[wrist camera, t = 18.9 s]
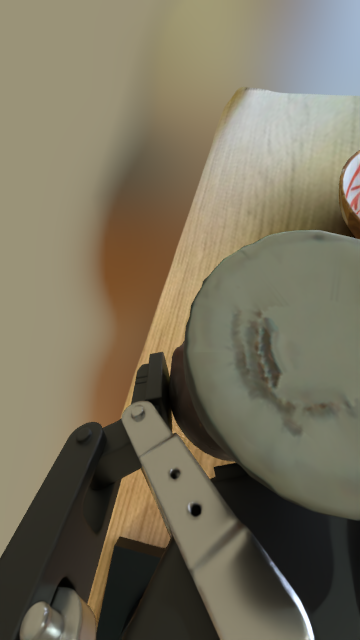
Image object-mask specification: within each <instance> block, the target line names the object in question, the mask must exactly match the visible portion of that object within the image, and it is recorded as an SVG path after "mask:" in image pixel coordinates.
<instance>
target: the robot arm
mask: <svg viewBox="0 0 360 640" xmlns="http://www.w3.org/2000/svg"><path fill="white" fill-rule="evenodd" d="M169 381H170V377H169V372H168V368H167V364H166V360H165V356H164V353H163V352H159V353H154V354H150V358H149V364H144V365H142V366H141V367H140V368H139V370H138V371H137V376H136V381H135V387H134V392H133V397H132V402H131V405H130V406H128V407H127V408H126V409H125V411H124V412H123V414H122V418H121V419H120V420H119V421H117V422H115V423H113V424H110V425H108V426H106V427H104V428H102V426H101V425H100V424H99V423H97V422H90V423H86V424H84V425H82V426H80V427H79V428H77V429H76V430H75V431H74V432H73V433H72V434H71V435H70V436H69V438H68V440H67V441H66V443H65V445H64V447H63V449H62V450H61V452H60V454H59V456H58V457H57V459H56V461H55V463H54V464H53V466H52V468H51V470H50V471H49V473H48V475H47V477H46V478H45V480H44V482H43V484H42V486H41V487H40V489H39V491H38V493H37V494H36V496H35V498H34V500H33V501H32V503H31V505H30V507H29V508H28V510H27V512H26V514H25V515H24V517H23V519H22V521H21V523H20V524H19V526H18V528H17V530H16V531H15V533H14V535H13V537H12V538H11V540H10V542H9V544H8V545H7V547H6V549H5V551H4V553H3V554H2V556H1V558H0V640H96V631H97V629H96V620H95V616H94V613H93V611H92V610H91V608H90V607H89V606H88V605H87V603H88V599H89V595H90V592H91V588H92V584H93V581H94V577H95V574H96V570H97V566H98V563H99V559H100V555H101V552H102V548H103V545H104V541H105V537H106V534H107V530H108V526H109V523H110V519H111V516H112V512H113V508H114V505H115V501H116V497H117V494H118V490H119V487H120V483H121V479H122V478H123V477H125V476H127V475H129V474H131V473H133V472H135V471H136V470H138V469H140V468H141V470H142V472H143V474H144V476H145V479H146V481H147V483H148V486H149V488H150V490H151V493H152V495H153V497H154V500H155V502H156V504H157V507H158V509H159V511H160V514H161V516H162V519H163V521H164V523H165V526H166V528H167V530H168V533H169V535H170V537H171V539H170V541H169V543H168V545H167V547H166V549H165V552H164V554H163V556H162V558H161V560H160V562H159V564H158V566H157V568H156V570H155V572H154V574H153V576H152V578H151V580H150V582H149V584H148V586H147V589H146V591H145V593H144V595H143V597H142V599H141V601H140V603H139V605H138V607H137V609H136V611H135V613H134V615H133V617H132V619H131V621H130V624H129V626H128V628H127V630H126V632H125V634H124V636H123V638H122V640H360V521H355V520H351V519H347V518H343V517H335V516H329V515H325V514H321V513H317V512H313V511H311V510H308V509H306V508H304V507H301V506H299V505H297V504H294V503H292V502H290V501H287V500H285V499H283V498H282V497H280V496H279V495H277V494H276V493H274V492H273V491H271V490H270V489H268V488H267V487H266V486H264V485H263V484H261V483H260V482H258V481H257V480H255V479H254V478H252V477H251V476H250V475H249V474H248V473H247V472H246V471H245V470H244V469H243V468H242V467H241V466H240V465H239V464H237V463H233V464H227V465H222V466H216V467H214V471H215V477H214V478H212V479H209V478H208V476H207V475H206V473H205V472H204V471H203V469H202V468H201V466H200V465H199V463H198V462H197V461H196V459H195V458H194V456H193V455H192V454H191V452H190V451H189V449H188V448H187V447H186V445H185V444H184V442H183V441H182V440H181V438H180V437H179V435H178V434H177V433H174V434H173V433H172V411H171V406H170V401H169Z"/></svg>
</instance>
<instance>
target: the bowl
mask: <svg viewBox="0 0 360 640" xmlns="http://www.w3.org/2000/svg"><path fill="white" fill-rule="evenodd" d="M339 205H340V209H341V213H342V216H343V219H344V221H345V223H346V224H347V226H348V228H349V230H350V231H351V232H352V234H353V235H354V236H355V237H356V238H357V239H360V150H359V151H357V152H356V153H355V154H354V155H353V156H352V157H351V158H349V159H348V161H347V162H346V164H345V166H344V167H343V169H342V172H341V176H340V182H339Z"/></svg>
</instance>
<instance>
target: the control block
mask: <svg viewBox="0 0 360 640" xmlns="http://www.w3.org/2000/svg"><path fill="white" fill-rule="evenodd" d="M164 552H165V549H164V548H160V547H157V546H153V545H149V544H145V543H142V542H138V541H134V540H130V539H127V538H123V537H119V539H118V540H117V542H116V544H115V545H114V550H113V554H112V559H111V564H110V569H109V574H108V579H107V584H106V588H105V593H104V598H103V603H102V608H101V613H100V618H99V622H98V627H97V632H96V640H122V638H123V636H124V634H125V632H126V630H127V628H128V626H129V624H130V621H131V619H132V617H133V615H134V613H135V611H136V609H137V607H138V605H139V603H140V601H141V599H142V597H143V595H144V593H145V591H146V589H147V586H148V584H149V582H150V580H151V578H152V576H153V574H154V572H155V570H156V568H157V566H158V564H159V562H160V560H161V558H162V556H163V554H164Z"/></svg>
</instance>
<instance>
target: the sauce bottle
mask: <svg viewBox="0 0 360 640" xmlns="http://www.w3.org/2000/svg"><path fill="white" fill-rule="evenodd" d="M169 401H170V406H171V410H172V413H173V416H174V418H175V420H176V422H177V424H178V426H179V427H180V429H181V430H182V432H183V433H184V434H185V436H186V437H187V438H188V439H189V440H190V441H191V442H192V443H193V444H194V445H195V446H197V447H198V448H199V449H201V450H202V451H203V452H205V453H207V454H209V455H211V456H213V457H216V458H218V459H221V460H226V461H235V462H236V463H237V464H239V465H240V466H241V467H242V468H243V469H244V470H245V471H246V472H247V473H248V474H249V475H250V476H251V477H252V478H254V479H255V480H257V481H258V482H260V483H261V484H263V485H264V486H266V487H267V488H268V489H270V490H271V491H273V492H274V493H276V494H277V495H279V496H280V497H282V498H283V499H285V500H287V501H290V502H292V503H294V504H297V505H299V506H301V507H304V508H306V509H308V510H311V511H313V512H317V513H321V514H325V515H329V516H335V517H343V518H347V519H351V520H355V521H360V239H356V238H352V237H348V236H344V235H339V234H334V233H329V232H325V231H322V230H298V231H288V232H282V233H277V234H272V235H269V236H266V237H264V238H262V239H260V240H258V241H257V242H255V243H253V244H250V245H247V246H244V247H242V248H241V249H240V250H238V251H237V252H235V253H233V254H232V255H230V256H228V257H226V258H225V259H223V260H222V262H221V263H220V264H219V265H218V266H217V267H216V268H215V269H214V270H213V271H212V273H211V274H210V275H209V276H208V277H207V278H206V279H205V280H204V281H203V284H202V287H201V289H200V291H199V292H198V294H197V295H196V297H195V299H194V301H193V303H192V305H191V310H190V317H189V320H188V322H187V325H186V331H185V341H184V342H183V344H182V345H181V346H180V347H178V348H176V349H175V351H174V353H173V356H172V363H171V373H170V381H169Z"/></svg>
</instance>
